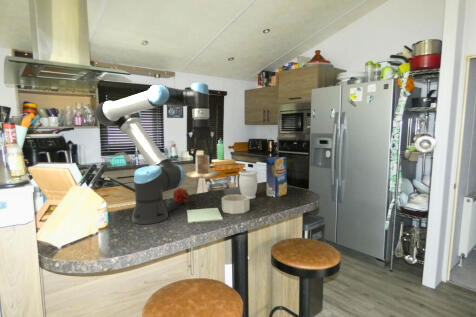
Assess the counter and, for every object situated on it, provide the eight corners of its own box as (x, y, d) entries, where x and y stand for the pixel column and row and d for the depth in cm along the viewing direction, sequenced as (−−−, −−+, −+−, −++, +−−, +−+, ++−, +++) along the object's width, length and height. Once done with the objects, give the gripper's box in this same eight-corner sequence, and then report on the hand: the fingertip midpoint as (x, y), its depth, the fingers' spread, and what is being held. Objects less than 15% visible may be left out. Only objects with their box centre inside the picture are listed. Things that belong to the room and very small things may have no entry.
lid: (187, 178, 115) (186, 157, 114) (186, 173, 129) (185, 154, 128) (220, 176, 118) (220, 156, 117) (216, 171, 132) (215, 153, 131)
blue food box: (286, 193, 164) (286, 157, 161) (275, 197, 156) (275, 159, 154) (277, 192, 169) (277, 156, 166) (266, 195, 161) (266, 158, 158)
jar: (257, 195, 161) (257, 170, 160) (257, 199, 151) (257, 173, 149) (240, 195, 162) (239, 170, 161) (238, 199, 152) (238, 173, 150)
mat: (188, 223, 116) (188, 221, 116) (187, 211, 132) (187, 210, 132) (222, 220, 119) (222, 218, 119) (217, 208, 135) (217, 207, 135)
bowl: (224, 214, 126) (224, 202, 125) (220, 206, 139) (220, 195, 138) (251, 212, 129) (251, 200, 128) (245, 205, 141) (244, 193, 141)
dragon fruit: (179, 202, 155) (185, 210, 145) (167, 195, 151) (173, 203, 141) (187, 189, 156) (194, 197, 146) (176, 182, 152) (182, 190, 141)
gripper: (180, 118, 115) (183, 172, 118) (221, 118, 119) (223, 170, 121) (180, 119, 122) (182, 170, 125) (219, 119, 126) (220, 168, 129)
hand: (202, 170), depth 123 cm, fingers closed on lid, 5 cm apart
